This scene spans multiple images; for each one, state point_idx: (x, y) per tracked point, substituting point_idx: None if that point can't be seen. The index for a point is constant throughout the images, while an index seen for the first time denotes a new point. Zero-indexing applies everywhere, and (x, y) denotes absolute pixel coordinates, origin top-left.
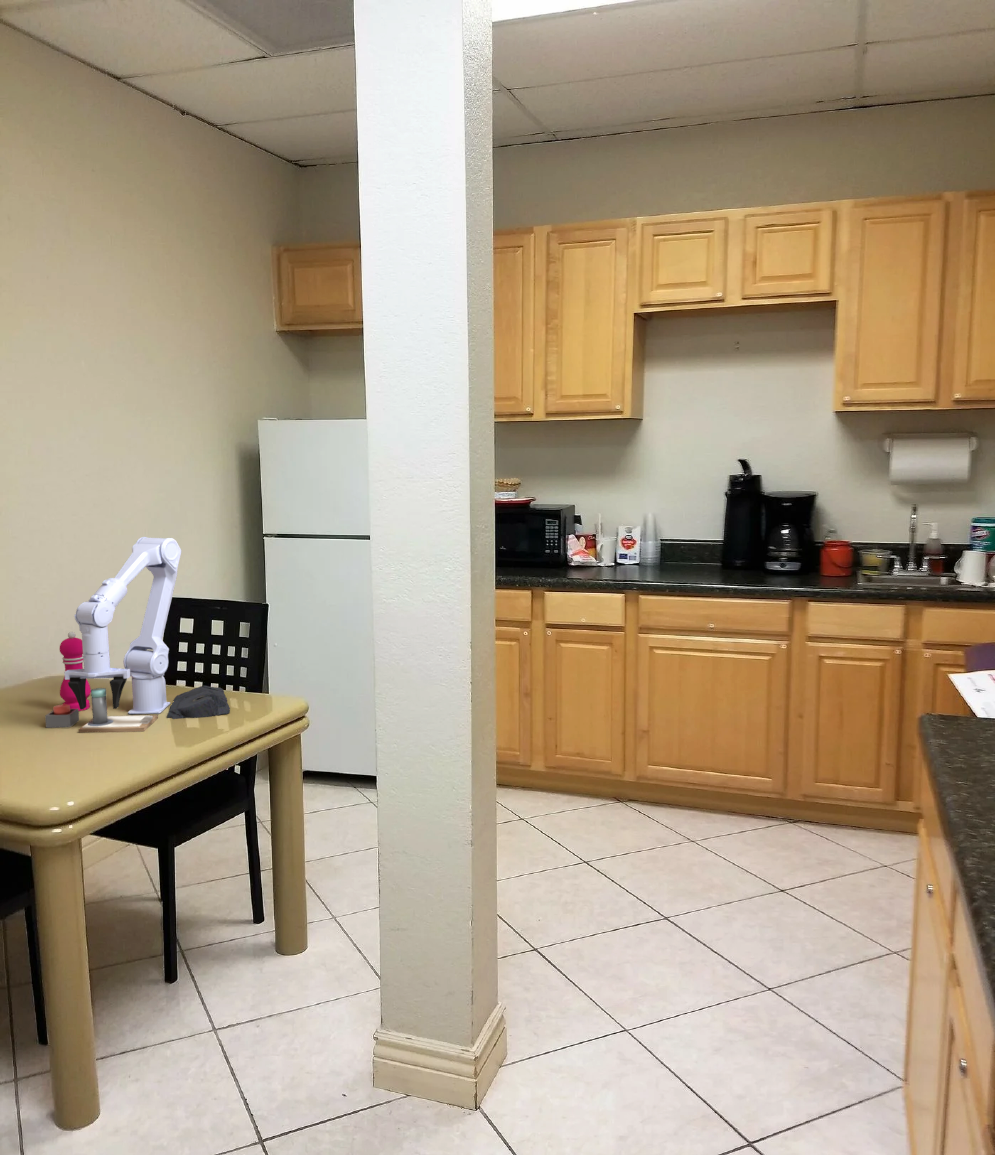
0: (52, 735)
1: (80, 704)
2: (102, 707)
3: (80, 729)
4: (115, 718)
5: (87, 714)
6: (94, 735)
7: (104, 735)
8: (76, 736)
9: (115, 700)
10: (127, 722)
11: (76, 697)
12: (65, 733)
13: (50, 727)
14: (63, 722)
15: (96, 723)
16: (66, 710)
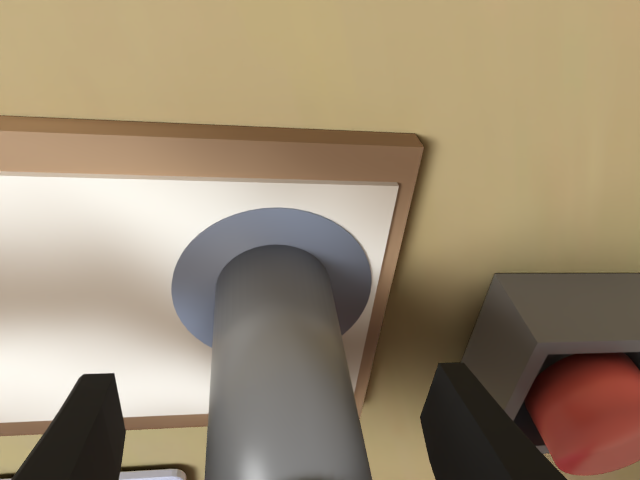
0: (624, 85)
1: (479, 400)
2: (231, 377)
3: (405, 145)
4: (194, 374)
5: (421, 464)
6: (243, 26)
7: (132, 9)
8: (416, 17)
9: (34, 458)
10: (30, 285)
11: (560, 475)
12: (520, 130)
13: (622, 273)
14: (554, 298)
15: (290, 250)
16: (568, 400)
